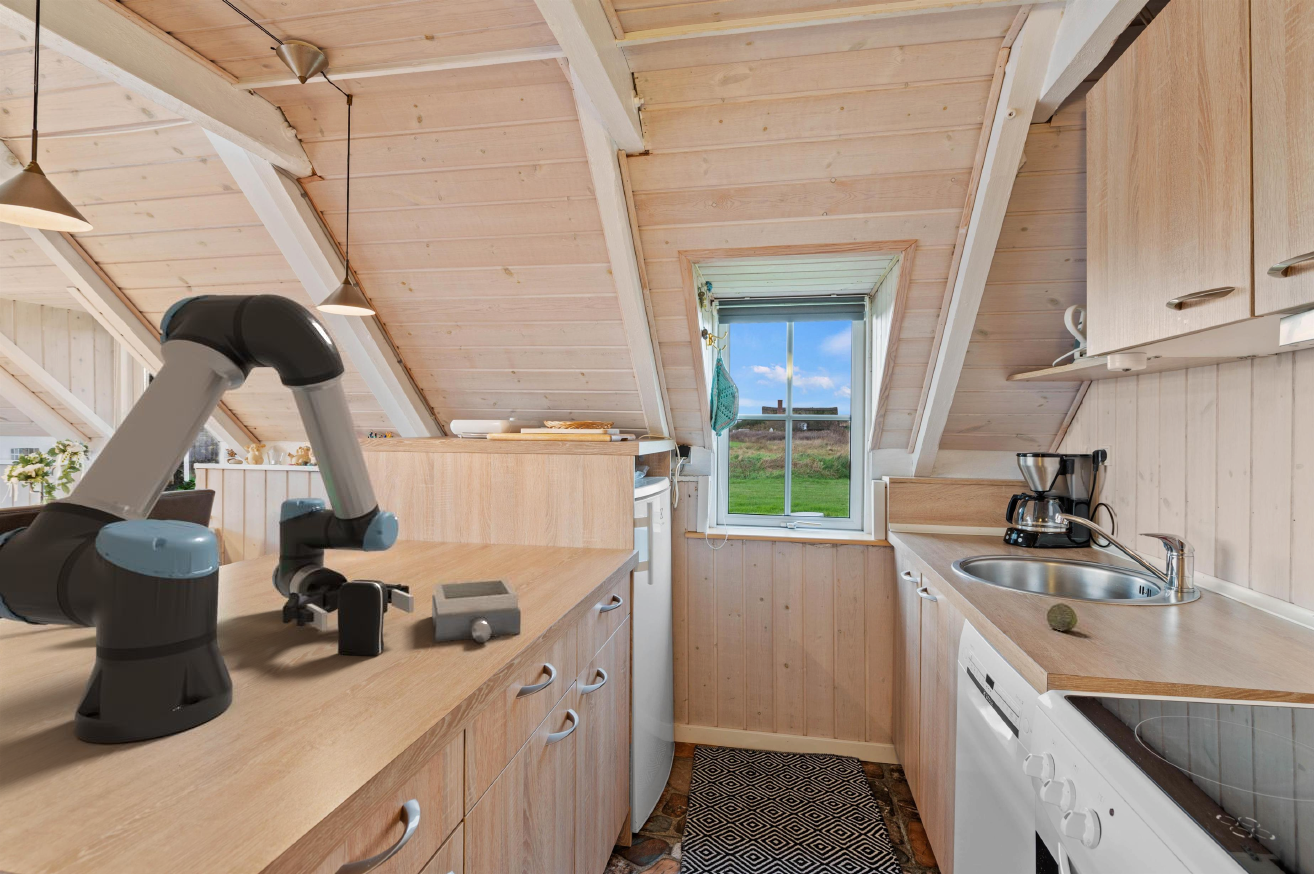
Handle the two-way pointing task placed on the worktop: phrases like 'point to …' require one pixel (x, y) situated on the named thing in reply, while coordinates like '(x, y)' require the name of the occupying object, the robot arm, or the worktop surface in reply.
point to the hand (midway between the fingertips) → (370, 612)
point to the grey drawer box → (475, 610)
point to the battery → (361, 617)
